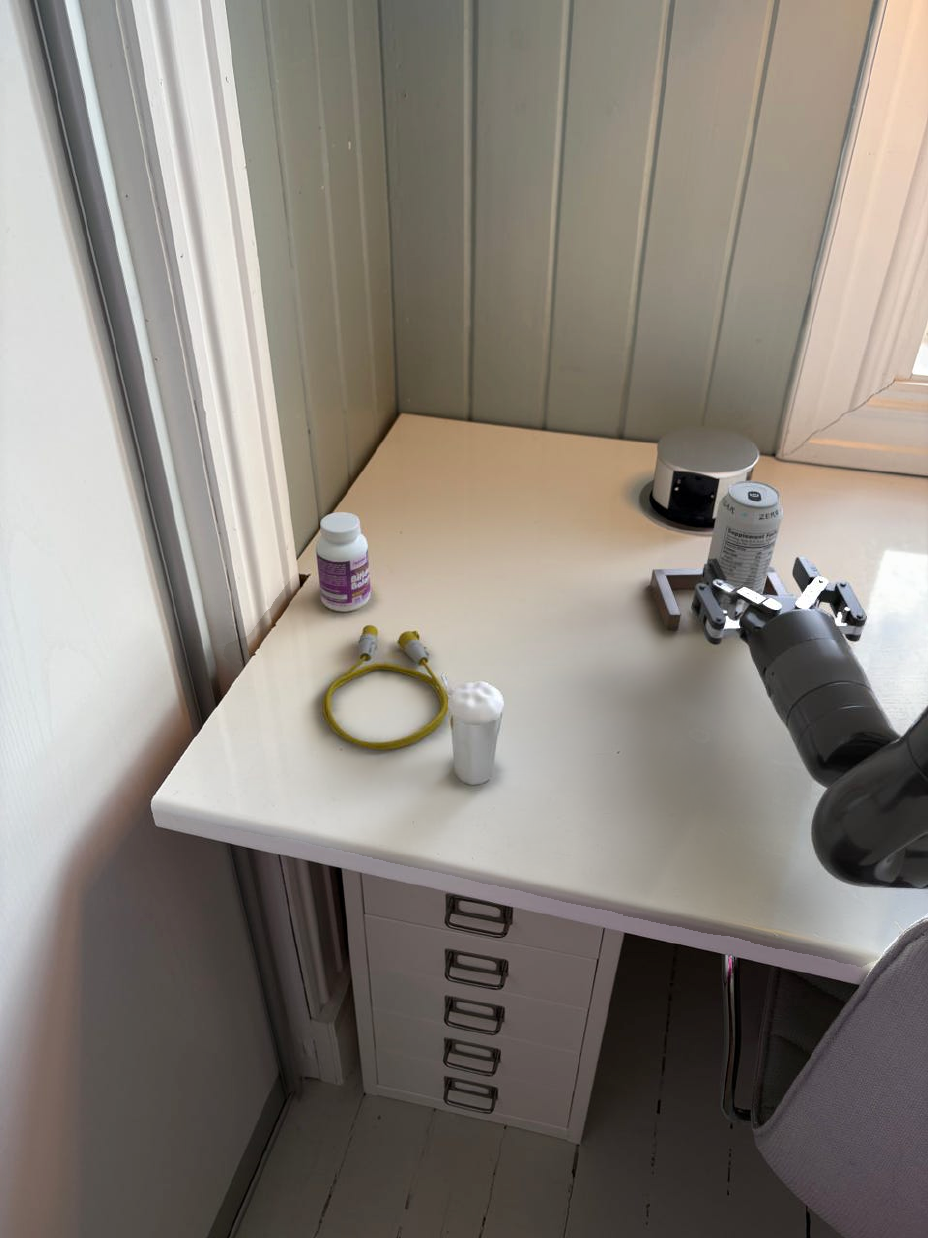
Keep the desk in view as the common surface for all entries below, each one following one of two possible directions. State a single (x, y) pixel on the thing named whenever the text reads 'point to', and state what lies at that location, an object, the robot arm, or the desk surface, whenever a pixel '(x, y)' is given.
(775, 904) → the desk surface
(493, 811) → the desk surface
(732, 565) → the energy drink can
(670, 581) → the bay
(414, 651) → the extension cord
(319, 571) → the pill bottle
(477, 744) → the milkshake
